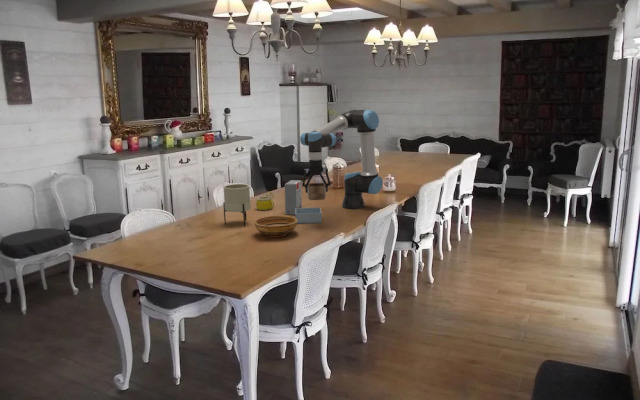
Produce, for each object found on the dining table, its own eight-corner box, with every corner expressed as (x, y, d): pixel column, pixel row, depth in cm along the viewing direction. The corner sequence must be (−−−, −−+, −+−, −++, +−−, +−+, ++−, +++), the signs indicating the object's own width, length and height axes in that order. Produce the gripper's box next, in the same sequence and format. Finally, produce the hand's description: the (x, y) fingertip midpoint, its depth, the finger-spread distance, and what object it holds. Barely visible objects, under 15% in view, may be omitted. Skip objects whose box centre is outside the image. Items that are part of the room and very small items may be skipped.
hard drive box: (296, 215, 341) (295, 184, 337) (285, 214, 343) (283, 184, 339) (302, 209, 356) (301, 180, 352) (291, 209, 358) (290, 179, 353)
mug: (253, 210, 357) (252, 192, 354) (261, 207, 367) (260, 189, 364) (270, 211, 352) (269, 193, 350) (277, 208, 362) (277, 190, 360)
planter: (256, 221, 328) (254, 184, 323) (242, 227, 314) (240, 189, 309) (235, 219, 334) (233, 183, 329) (220, 225, 320) (218, 187, 315)
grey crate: (320, 216, 335) (320, 207, 334) (321, 222, 320) (321, 213, 319) (295, 217, 335) (295, 208, 333) (295, 223, 319) (295, 214, 318)
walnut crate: (324, 196, 315) (323, 182, 313) (325, 199, 306) (324, 185, 304) (308, 196, 315) (308, 183, 313) (309, 200, 306) (308, 186, 304)
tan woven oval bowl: (279, 244, 280) (279, 229, 278) (242, 238, 291) (241, 224, 290) (308, 230, 305) (308, 216, 303) (273, 225, 316) (273, 212, 315)
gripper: (334, 157, 310) (335, 195, 314) (296, 159, 309) (298, 197, 314) (335, 159, 302) (336, 198, 307) (296, 160, 301) (298, 199, 306)
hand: (316, 197), depth 310 cm, fingers closed on walnut crate, 9 cm apart
